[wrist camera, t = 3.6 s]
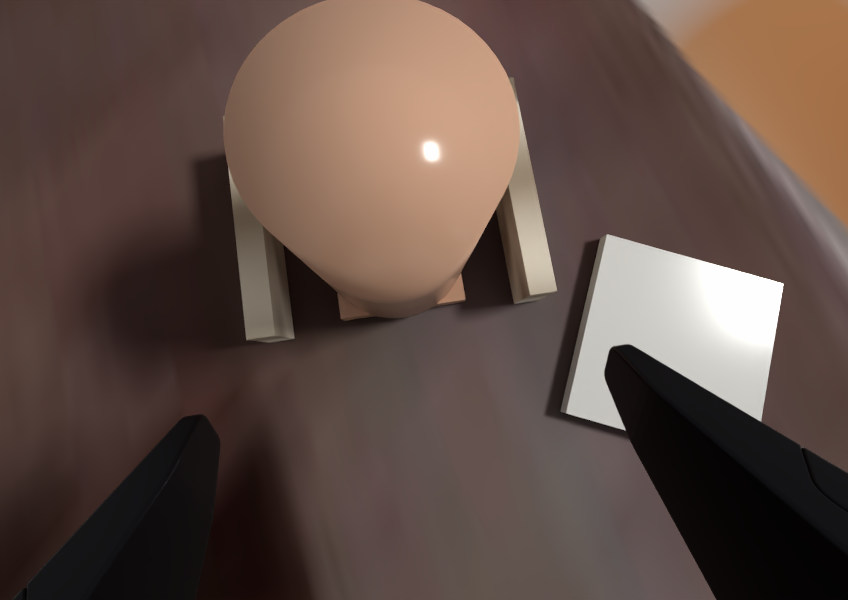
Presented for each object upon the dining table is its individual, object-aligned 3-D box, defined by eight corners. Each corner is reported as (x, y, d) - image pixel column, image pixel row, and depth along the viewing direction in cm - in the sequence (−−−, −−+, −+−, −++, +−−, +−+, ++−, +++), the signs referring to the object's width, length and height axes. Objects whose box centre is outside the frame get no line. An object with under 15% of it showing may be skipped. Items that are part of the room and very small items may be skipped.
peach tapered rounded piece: (472, 308, 21) (546, 245, 10) (337, 330, 21) (239, 292, 9) (449, 181, 22) (491, -23, 10) (319, 199, 22) (210, 11, 10)
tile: (740, 463, 21) (753, 467, 20) (560, 411, 21) (565, 413, 20) (770, 286, 22) (783, 283, 21) (599, 238, 22) (607, 234, 21)
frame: (537, 300, 22) (556, 290, 19) (269, 342, 21) (246, 340, 18) (500, 114, 23) (513, 77, 20) (248, 148, 22) (223, 116, 19)
